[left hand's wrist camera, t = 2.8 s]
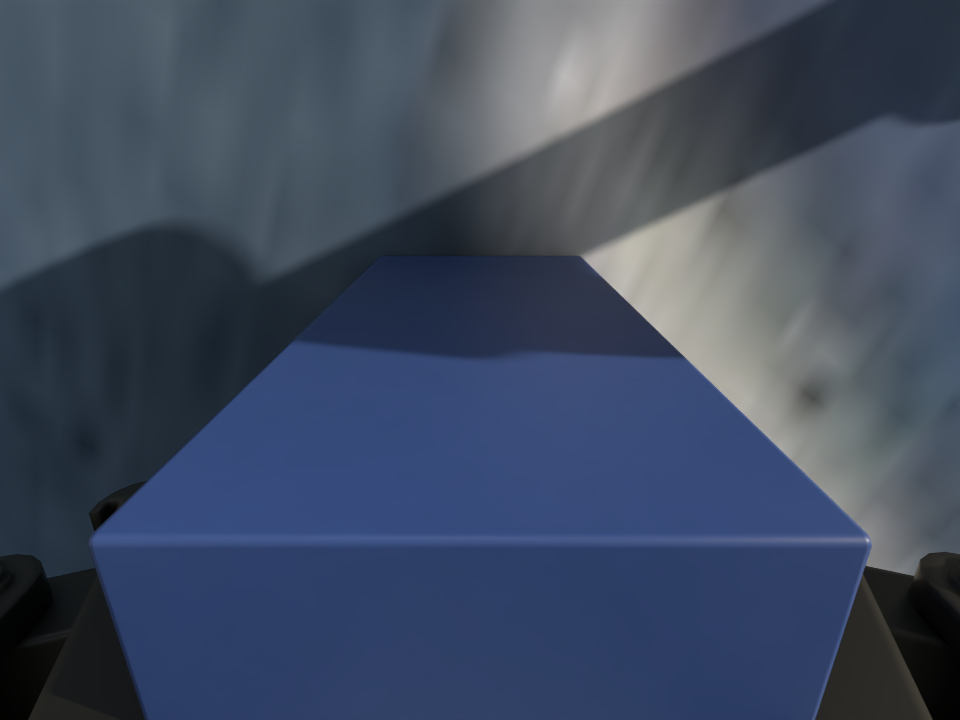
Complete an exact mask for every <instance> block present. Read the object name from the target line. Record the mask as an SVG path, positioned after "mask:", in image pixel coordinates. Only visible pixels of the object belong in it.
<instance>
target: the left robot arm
mask: <svg viewBox="0 0 960 720" xmlns="http://www.w3.org/2000/svg"><path fill="white" fill-rule="evenodd" d="M145 482H147V481H145ZM145 482H141V483H137V484H133V485H131V486H128V487H126V488H123V489H121V490H119V491H116V492H114V493H113V494H111V495H109V496H108V497H106V498H105V499H103V500H102V501H100V502H99V503H98V504H97V505H96V506H95V507H94V508H93V509H92V510H91V512H90V513H89V515H90V518H91V521H92V525H93V528H94V531H96V530H97V529H98V528H99V527H100V526H101V525H102V524H103V523H104V522H105V521H106V520H107V519H108V518H109V517H110V516H111V515H112V514H113V513H114V512H115V511H116V510H117V509H118V508H119V507H121V506H122V505H123V504H124V503H125V502H126V501H127V500H128V499H129V498H130V497H131V496H132V495H133V494H134V493H135V492H136V491H137V490H138V489H139V488H140V487H141V486H142V485H143V484H144V483H145ZM0 720H145V718H144V715H143V712H142V709H141V706H140V703H139V700H138V697H137V694H136V691H135V688H134V685H133V681H132V678H131V675H130V672H129V669H128V666H127V663H126V660H125V657H124V654H123V651H122V648H121V645H120V642H119V639H118V636H117V633H116V630H115V627H114V623H113V620H112V617H111V614H110V611H109V608H108V605H107V602H106V599H105V596H104V593H103V590H102V587H101V584H100V581H99V578H98V575H97V572H96V569H95V568H94V569H89V570H84V571H80V572H75V573H70V574H65V575H61V576H56V577H51V578H47V577H46V574H45V572H44V569H43V566H42V563H41V562H40V561H39V560H38V559H36V558H35V557H33V556H30V555H19V554H15V555H9V556H3V557H0ZM815 720H960V554H954V553H948V552H939V553H929V554H928V555H926V556H925V557H923V558H922V559H921V560H920V562H919V565H918V568H917V570H916V573H915V576H911V575H906V574H901V573H897V572H892V571H887V570H882V569H878V568H873V567H868V566H865V568H864V571H863V574H862V577H861V581H860V584H859V587H858V590H857V593H856V596H855V599H854V602H853V605H852V608H851V611H850V614H849V617H848V620H847V623H846V626H845V629H844V633H843V636H842V639H841V642H840V645H839V648H838V651H837V654H836V657H835V660H834V663H833V666H832V669H831V672H830V675H829V678H828V681H827V685H826V688H825V691H824V694H823V697H822V700H821V703H820V706H819V709H818V712H817V715H816V718H815Z"/></svg>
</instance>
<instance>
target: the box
mask: <svg viewBox="0 0 960 720" xmlns="http://www.w3.org/2000/svg"><path fill="white" fill-rule="evenodd" d="M88 547H89V550H90V553H91V556H92V559H93V562H94V565H95V569H96V572H97V575H98V578H99V581H100V584H101V587H102V590H103V593H104V596H105V599H106V602H107V605H108V608H109V611H110V614H111V617H112V620H113V623H114V627H115V630H116V633H117V636H118V639H119V642H120V645H121V648H122V651H123V654H124V657H125V660H126V663H127V666H128V669H129V672H130V675H131V678H132V681H133V685H134V688H135V691H136V694H137V697H138V700H139V703H140V706H141V709H142V712H143V715H144V718H145V720H815V718H816V715H817V712H818V709H819V706H820V703H821V700H822V697H823V694H824V691H825V688H826V685H827V681H828V678H829V675H830V672H831V669H832V666H833V663H834V660H835V657H836V654H837V651H838V648H839V645H840V642H841V639H842V636H843V633H844V629H845V626H846V623H847V620H848V617H849V614H850V611H851V608H852V605H853V602H854V599H855V596H856V593H857V590H858V587H859V584H860V581H861V577H862V574H863V571H864V568H865V565H866V562H867V559H868V556H869V553H870V550H871V547H872V546H871V540H870V538H869V536H868V534H867V533H866V532H865V531H864V530H863V529H862V528H860V527H859V526H858V525H857V524H856V523H855V522H854V521H853V520H852V519H851V518H850V517H849V516H848V515H847V514H846V513H845V512H844V511H843V510H842V509H841V508H840V507H839V506H838V505H837V504H836V503H835V502H834V501H833V500H832V499H831V498H829V497H828V496H827V495H826V494H825V493H824V492H823V491H822V490H821V489H820V488H819V487H818V486H817V485H816V484H815V483H814V482H813V481H812V480H811V479H810V478H809V477H808V476H807V475H806V474H805V473H804V472H803V471H802V470H801V469H800V468H799V467H797V466H796V465H795V464H794V463H793V462H792V461H791V460H790V459H789V458H788V457H787V456H786V455H785V454H784V453H783V452H782V451H781V450H780V449H779V448H778V447H777V446H776V445H775V444H774V443H773V442H772V441H771V440H770V439H769V438H768V437H766V436H765V435H764V434H763V433H762V432H761V431H760V430H759V429H758V428H757V427H756V426H755V425H754V424H753V423H752V422H751V421H750V420H749V419H748V418H747V417H746V416H745V415H744V414H743V413H742V412H741V411H740V410H739V409H738V408H737V407H736V406H734V405H733V404H732V403H731V402H730V401H729V400H728V399H727V398H726V397H725V396H724V395H723V394H722V393H721V392H720V391H719V390H718V389H717V388H716V387H715V386H714V385H713V384H712V383H711V382H710V381H709V380H708V379H707V378H706V377H705V376H703V375H702V374H701V373H700V372H699V371H698V370H697V369H696V368H695V367H694V366H693V365H692V364H691V363H690V362H689V361H688V360H687V359H686V358H685V357H684V356H683V355H682V354H681V353H680V352H679V351H678V350H677V349H676V348H675V347H674V346H673V345H671V344H670V343H669V342H668V341H667V340H666V339H665V338H664V337H663V336H662V335H661V334H660V333H659V332H658V331H657V330H656V329H655V328H654V327H653V326H652V325H651V324H650V323H649V322H648V321H647V320H646V319H645V318H644V317H643V316H642V315H640V314H639V313H638V312H637V311H636V310H635V309H634V308H633V307H632V306H631V305H630V304H629V303H628V302H627V301H626V300H625V299H624V298H623V297H622V296H621V295H620V294H619V293H618V292H617V291H616V290H615V289H614V288H613V287H612V286H611V285H610V284H608V283H607V282H606V281H605V280H604V279H603V278H602V277H601V276H600V275H599V274H598V273H597V272H596V271H595V270H594V269H593V268H592V267H591V266H590V265H589V264H588V263H587V262H586V261H585V260H584V259H583V258H582V257H580V256H381V257H379V258H378V259H377V260H376V261H375V262H374V263H373V264H372V265H371V266H370V267H369V268H368V269H367V270H366V271H365V272H364V273H363V274H362V275H361V276H360V277H358V278H357V279H356V280H355V281H354V282H353V283H352V284H351V285H350V286H349V287H348V288H347V289H346V290H345V291H344V292H343V293H342V294H341V295H340V296H339V297H338V298H337V299H336V300H335V301H334V302H333V303H331V304H330V305H329V306H328V307H327V308H326V309H325V310H324V311H323V312H322V313H321V314H320V315H319V316H318V317H317V318H316V319H315V320H314V321H313V322H312V323H311V324H310V325H309V326H308V327H307V328H305V329H304V330H303V331H302V332H301V333H300V334H299V335H298V336H297V337H296V338H295V339H294V340H293V341H292V342H291V343H290V344H289V345H288V346H287V347H286V348H285V349H284V350H283V351H282V352H281V353H280V354H278V355H277V356H276V357H275V358H274V359H273V360H272V361H271V362H270V363H269V364H268V365H267V366H266V367H265V368H264V369H263V370H262V371H261V372H260V373H259V374H258V375H257V376H256V377H255V378H254V379H252V380H251V381H250V382H249V383H248V384H247V385H246V386H245V387H244V388H243V389H242V390H241V391H240V392H239V393H238V394H237V395H236V396H235V397H234V398H233V399H232V400H231V401H230V402H229V403H228V404H227V405H225V406H224V407H223V408H222V409H221V410H220V411H219V412H218V413H217V414H216V415H215V416H214V417H213V418H212V419H211V420H210V421H209V422H208V423H207V424H206V425H205V426H204V427H203V428H202V429H201V430H200V431H198V432H197V433H196V434H195V435H194V436H193V437H192V438H191V439H190V440H189V441H188V442H187V443H186V444H185V445H184V446H183V447H182V448H181V449H180V450H179V451H178V452H177V453H176V454H175V455H174V456H172V457H171V458H170V459H169V460H168V461H167V462H166V463H165V464H164V465H163V466H162V467H161V468H160V469H159V470H158V471H157V472H156V473H155V474H154V475H153V476H152V477H151V478H150V479H149V480H148V481H147V482H145V483H144V484H143V485H142V486H141V487H140V488H139V489H138V490H137V491H136V492H135V493H134V494H133V495H132V496H131V497H130V498H129V499H128V500H127V501H126V502H125V503H124V504H123V505H122V506H121V507H119V508H118V509H117V510H116V511H115V512H114V513H113V514H112V515H111V516H110V517H109V518H108V519H107V520H106V521H105V522H104V523H103V524H102V525H101V526H100V527H99V528H98V529H97V530H96V531H95V532H94V533H92V534H91V537H90V539H89V543H88Z"/></svg>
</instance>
